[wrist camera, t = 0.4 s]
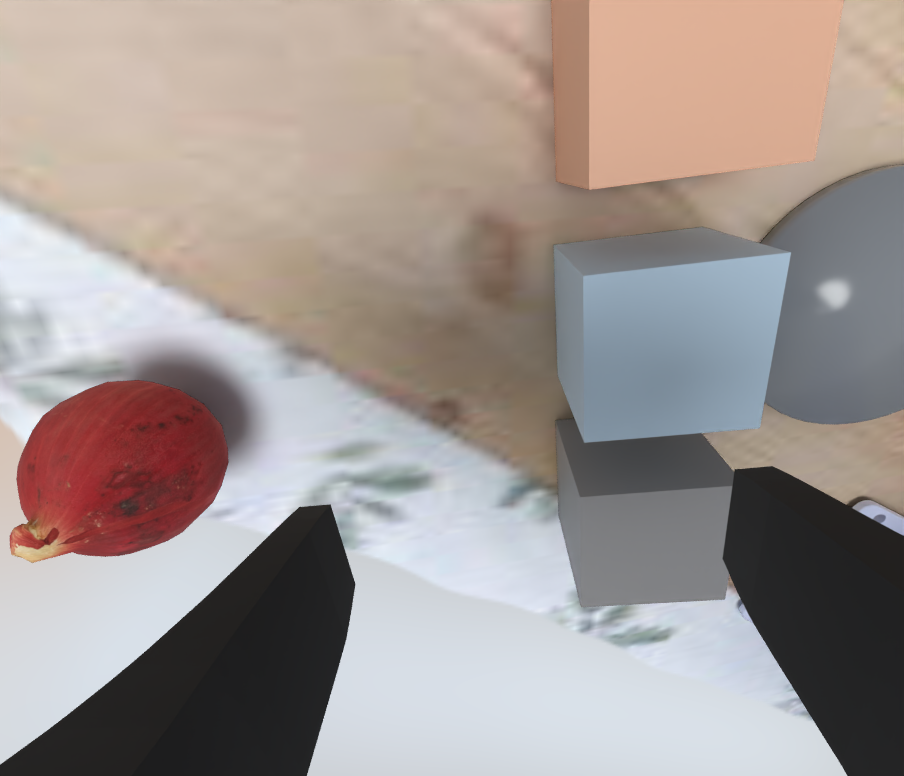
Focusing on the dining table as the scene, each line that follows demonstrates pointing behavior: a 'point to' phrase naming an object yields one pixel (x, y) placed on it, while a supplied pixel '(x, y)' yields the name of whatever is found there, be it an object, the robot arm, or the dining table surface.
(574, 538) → the charcoal cube
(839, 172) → the dining table surface
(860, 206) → the slate coaster
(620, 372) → the blue cube
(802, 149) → the terracotta cube
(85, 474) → the onion
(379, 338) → the dining table surface
